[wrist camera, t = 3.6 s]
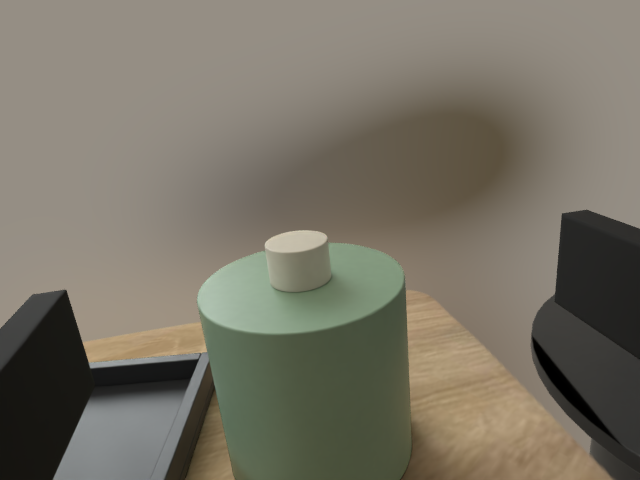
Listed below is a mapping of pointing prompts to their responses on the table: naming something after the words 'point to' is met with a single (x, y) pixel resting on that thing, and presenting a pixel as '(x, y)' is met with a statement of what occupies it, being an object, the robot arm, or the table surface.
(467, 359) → the table surface
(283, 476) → the cover
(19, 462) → the robot arm
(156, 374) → the tray
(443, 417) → the table surface
